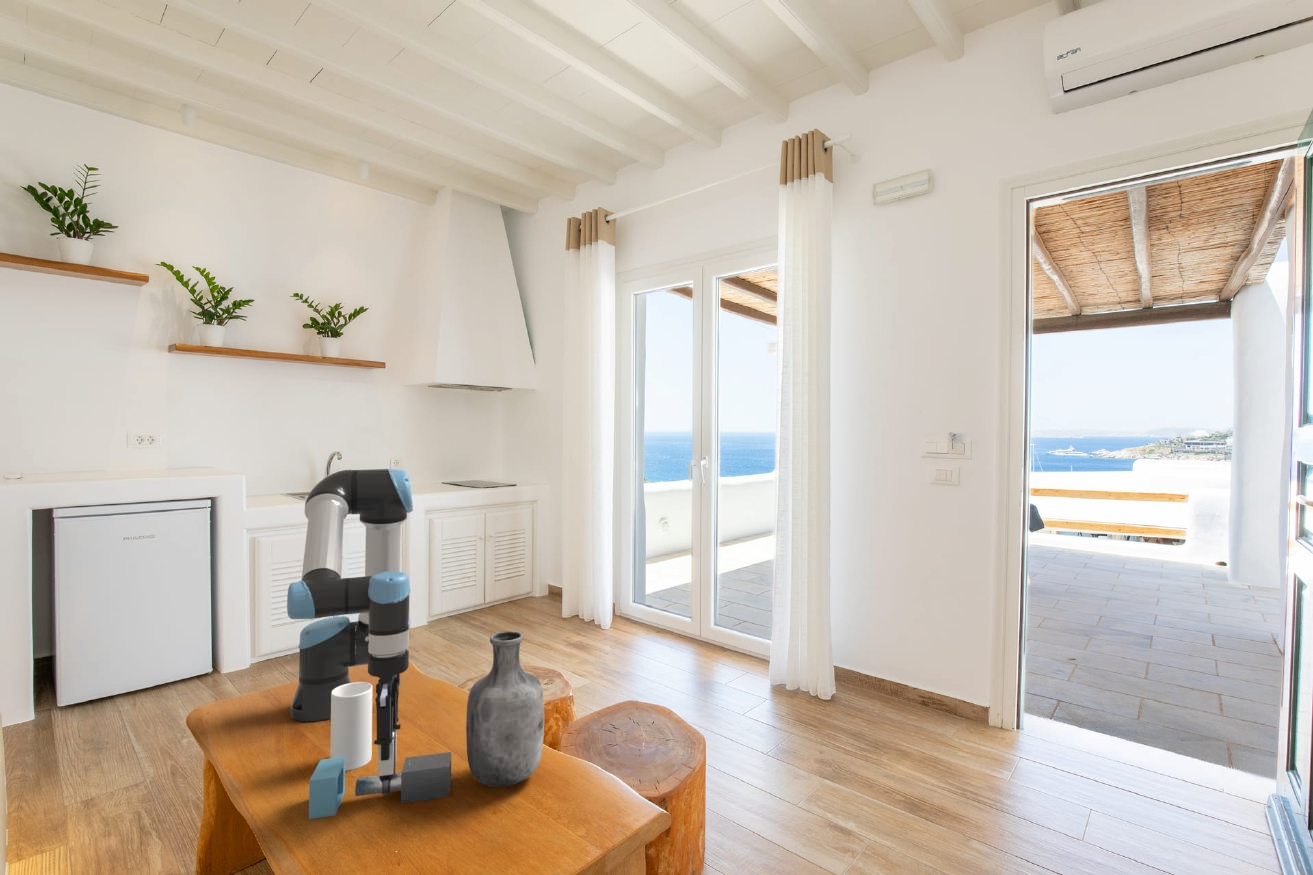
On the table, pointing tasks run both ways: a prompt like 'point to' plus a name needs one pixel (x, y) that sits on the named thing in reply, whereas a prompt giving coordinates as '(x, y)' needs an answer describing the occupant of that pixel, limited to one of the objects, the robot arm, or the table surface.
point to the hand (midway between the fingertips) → (387, 769)
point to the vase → (505, 718)
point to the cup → (352, 724)
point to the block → (426, 777)
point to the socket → (327, 787)
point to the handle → (380, 780)
